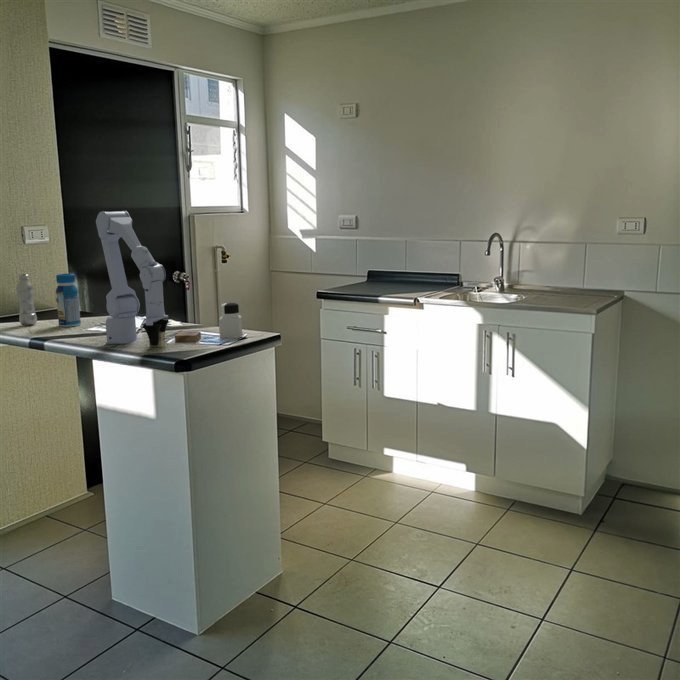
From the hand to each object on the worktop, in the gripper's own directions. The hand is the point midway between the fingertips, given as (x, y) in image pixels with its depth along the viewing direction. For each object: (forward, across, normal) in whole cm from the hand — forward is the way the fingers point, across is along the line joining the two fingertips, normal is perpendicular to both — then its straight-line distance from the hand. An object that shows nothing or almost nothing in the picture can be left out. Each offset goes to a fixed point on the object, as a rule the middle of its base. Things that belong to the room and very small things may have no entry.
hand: (157, 343), depth 235 cm
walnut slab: (+1, +8, -8) cm, 12 cm away
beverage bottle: (+2, +44, +48) cm, 65 cm away
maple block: (+2, 0, 0) cm, 2 cm away
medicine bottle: (+2, +17, -21) cm, 27 cm away
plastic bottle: (+2, +45, +65) cm, 79 cm away
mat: (+1, +8, -8) cm, 11 cm away
